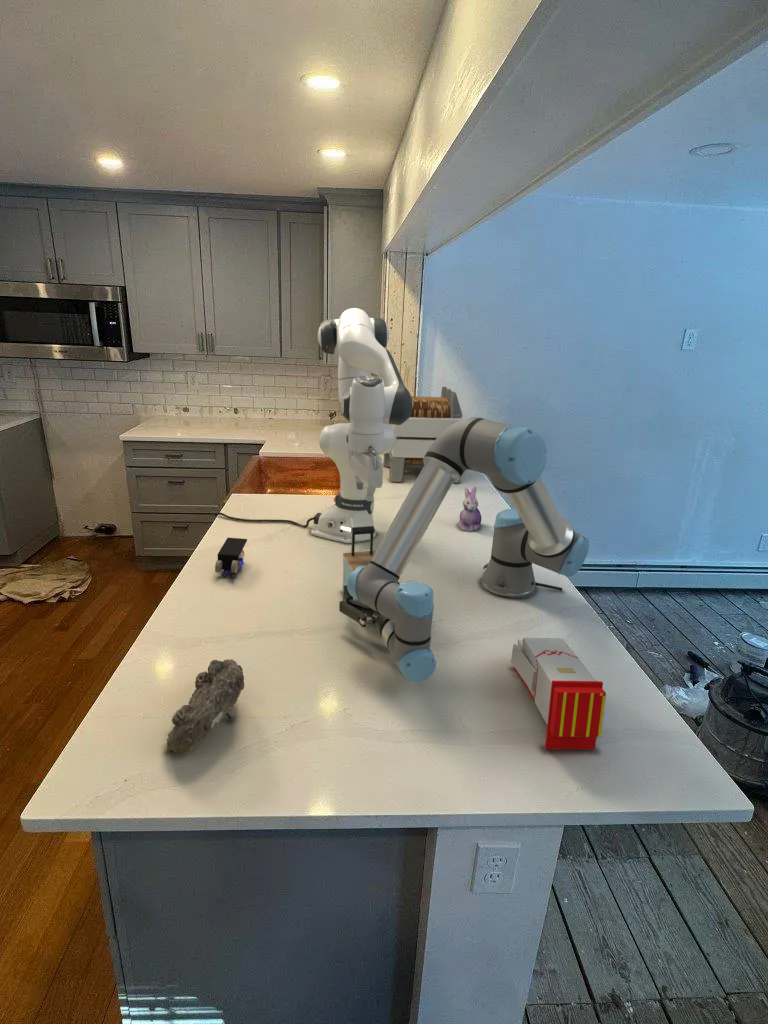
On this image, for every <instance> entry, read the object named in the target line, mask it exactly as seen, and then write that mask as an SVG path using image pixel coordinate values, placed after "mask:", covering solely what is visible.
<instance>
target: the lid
mask: <svg viewBox="0 0 768 1024" xmlns="http://www.w3.org/2000/svg"><path fill="white" fill-rule="evenodd" d="M374 532H376V528H375V525H374V526H365V527H352V528H351V535H352V543H351V548H350V550H351V551H349V552H342V557H344V559H345V560H346V562H347V564H348V566H349V567H350V569H351V571H354V570H355V569H356V568H357V567H359V566H368V564H369V562H370V561H371V559H372V557H373V555H374V553H375V552H376V550H377V549H375V550H374V537H373V533H374ZM360 534H370V539H369V550H361V551H355V545H356V544H355V543H356V542H355V535H360Z"/></svg>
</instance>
